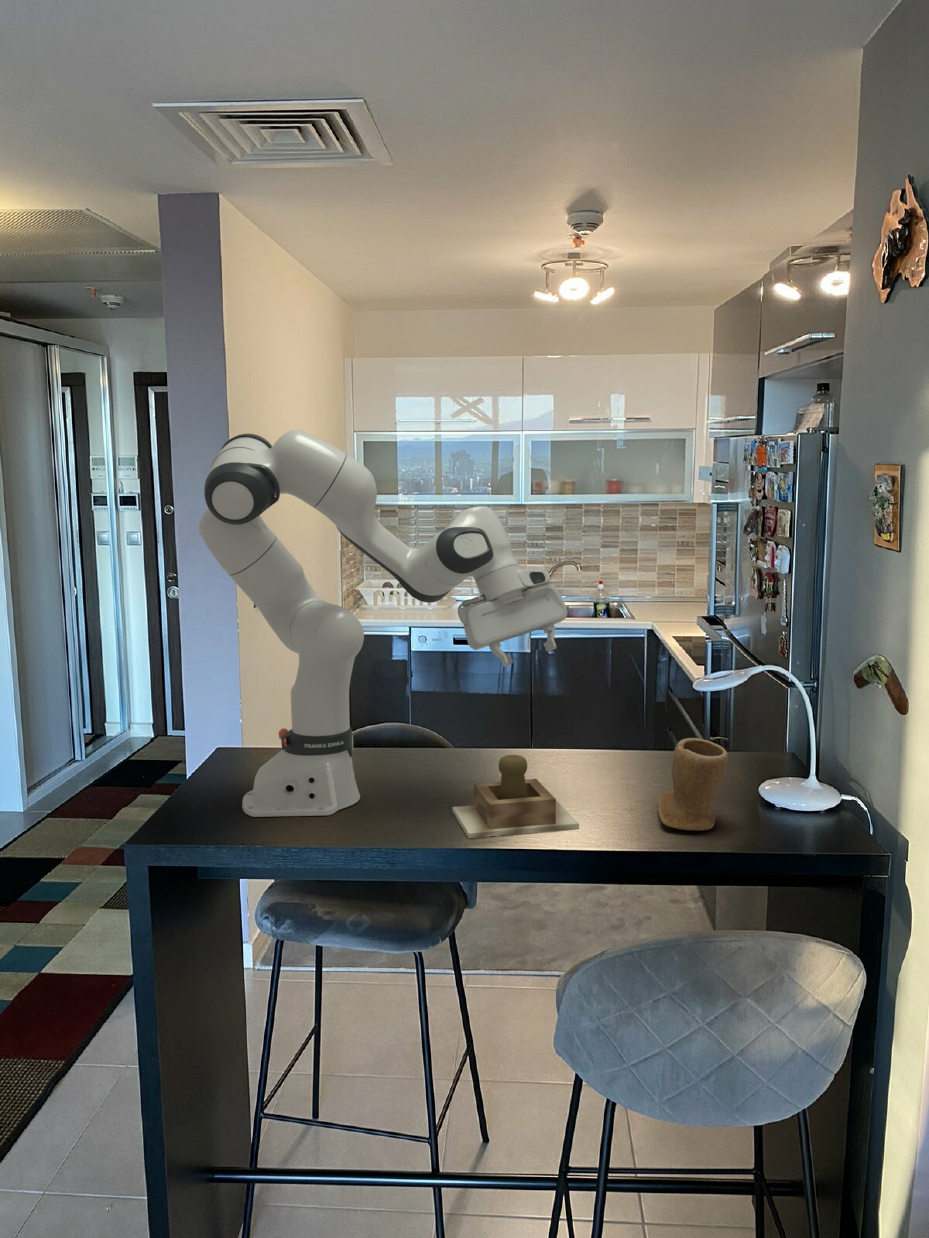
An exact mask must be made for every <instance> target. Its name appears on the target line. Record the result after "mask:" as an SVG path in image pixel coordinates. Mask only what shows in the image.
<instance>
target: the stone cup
mask: <svg viewBox="0 0 929 1238" xmlns="http://www.w3.org/2000/svg"><path fill="white" fill-rule="evenodd" d="M673 751H674V752H673V755H672V765H671V776H672V777H671V778H672V783H673V784H672V785H673V789H670V790H666V791H662V792H661V793H659V794H658V795H657V796H658V798H657V806H658V807H657V809H658V811H657V812H658V815H659V819H660V821H661V823H662V824H663V825H665V826H666V827H669V828H672V829H676V830H683V831H708V830H711V829H712V828H713V827H715V824H716V814H715V811H714V809H713V803H714V799H715V797H716V795H717V792H718V790H719V789H720V786H721V785H722V783H723V781H724V778H725V776H726V774H727V768H728V762H729V754H728V751H727V750H726V749H725V748H724V747H723V746H721V745H720V744H718V743H714V742H713V741H710V740H706V739H702V738H697V737H688V738H684V739H683V738H682V739H681V740H679V741H678V742H677V744H676V745H675V747H674V750H673Z"/></svg>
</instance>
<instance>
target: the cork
mask: <svg viewBox="0 0 929 1238" xmlns="http://www.w3.org/2000/svg"><path fill="white" fill-rule="evenodd" d="M527 770H528V761H527V759H526V758H525V757H523V756H522V755H519V754H508V755H504V756H502V757H500V759H499V762H498V772H500V774H501V778H500V782H501V784H500V792H499V800H504V799H516V798H527V791H526V784H525V780H526V778H525V776H526V773H527Z"/></svg>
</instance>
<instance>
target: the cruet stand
mask: <svg viewBox="0 0 929 1238" xmlns="http://www.w3.org/2000/svg"><path fill="white" fill-rule="evenodd" d="M500 784H501V781H493V782H482V783H481V782H480V783H474V784H473V787H474V788H473V789H474V791H473V792H474V797H473V798H474V800H473V801H474V804H473V805H464V806H463V805H462V806H461V805H460V806H452V809H451V810H452V814H453V815H455V816H454V817H455V819H456V820H457V822H458V823H459V825H460V827H461V828H463V829H462V830H463V831H464V834H465V835H466V836H468V837H467V838H468V839H469V838H475V839H483V838H482V837H486V838H491V837H490V836H496V837H502V836H501V835H507V836H515V834H518V835H525V834H526V833H529V834H536V833H535V832H540V833H550V831H551V832H559V831H560V830H562V831H570V830H569V829H572V830H579V829H580V822H578V820H576V819H575V818H574V816H572V814H570V812H569V811H567V809H566V808H565V807H564V806H563V805H562V804H561V803H560V802H559V801H558V800H557V799H556V798H555V796H553V794H552V793H551V792H549V791H548V790H547V788H546V787H545V785H543V784H542V783H541V782H540V781H539V780H538V779H537V778H529V779H525V784H526V791H527V798H516V799H504V800H499V792H500ZM558 830H559V831H558ZM560 832H561V831H560ZM526 835H527V834H526Z"/></svg>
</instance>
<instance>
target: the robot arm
mask: <svg viewBox="0 0 929 1238" xmlns="http://www.w3.org/2000/svg"><path fill="white" fill-rule="evenodd" d="M203 491H204V493H203V495H204V500H205V503H206V504H205V505H206V506H207V508H208V509H206V511H205V512H204V513H203V515H201V518H200V521H199V524H198V531H199V535H200V536H201V539H202V540H203V542H204V544H205V545H206V547H207V548H208V550H209V552H210V553H211V554H212V556H213V557H214V558H215V560H216V561H217V563H218V564H219V566H220V567H221V568H222V569H223V570H224V571H225V572H226V574H227V575H228V576H229V577H230V578H231V579H232V580H233V581H234V583H235V584H236V585H237V586H238V587H239V588H240V589H241V590H242V592H243V593H244V594H245V595H246V596H247V597H248V598H249V599H250V601H252V603H253V604H254V605H255V606H256V608H257V609H258V610H259V611H260V613H261V616H263V618H264V620H265V621H266V623H268V625H269V627H270V628H271V629H272V631H273V632H274V633H275V634H276V636H277V638H278V639H279V640H280V642H282V644H283V645H284V646H285V647H286V648H287V649H288V650H289V651H292V652H294V653H296V654H298V659H299V660H298V667H297V673H296V677H295V682H294V685H293V686H292V687H291V689H290V712H291V728H290V730H289V729H287V728H284V727H283V728H280V730H279V731H278V737H279V739H280V740H281V750H280V751H278V752H277V754H276V755H274V756H273V757H272V758H270V759H269V760H268V761H267V762H266V763H264V764H263V765H261V766H260V767H259V768H258V771H257V772H256V775H255V777H254V781H253V789H252V790H249V791H248V792H246V793H245V794H244V795H243V798H242V805H241V808H242V811H243V812H244V814H246V815H248V816H250V817H252V818H254V817H255V818H257V817H258V818H259V817H260V818H263V817H264V818H265V817H302V816H303V817H308V816H309V817H311V816H312V817H313V816H314V817H315V816H317V817H318V816H331V815H333V814H335V813H336V812H338V811H339V810H342V809H345V808H348V807H350V806H353V805H355V804H356V803H358V802H359V800H360V799H361V795H360V792H359V788H358V786H357V782H356V781H357V780H356V776H355V772H354V765H353V752H354V735H353V729H352V726H351V725H350V685H351V677H352V673H353V670H354V669H353V668H354V664H355V659H356V657H357V655H358V654H359V652H360V651H361V650H362V647H363V644H364V639H365V632H364V631H365V630H364V628H363V625H362V623H361V622H360V620H359V619H358V618H357V617H356V616H355V615H354V614H353V613H352V612H351V611H349V609H347V608H345V607H343V606H341V605H338V604H333V603H330V602H327V601H325V600H324V599H322V598H321V597H320V596H319V595H318V594H317V593H316V591H315V590H314V589H313V587H312V584H310V582H309V580H308V579H307V577H306V575H305V572H304V569H303V566H302V565H301V564H300V562H299V561H298V560H297V559H296V558H295V557H294V556H293V555H292V553H291V552H290V551H289V550H288V548H287V547H286V546H285V545H284V544H283V543H282V541H281V540H280V539H279V538H278V537H277V535H276V534H275V533H274V532H273V531H272V529H271V528H270V527H269V526H268V525H267V523H265V521H264V520H263V518H262V517H261V516H262V514H263V513H265V511H266V510H268V509H269V508H270V507H272V506H273V505H274V504H276V503H277V502H278V501H279V500H280V497H281V496H280V495H283V494H288V495H291V496H293V497H296V498H297V499H300V500H301V501H302V502H304V503H306V504H307V505H309V506H310V507H311V508H314V509H315V510H317V511H318V512H320V513H321V514H322V515H323V516H325V517H326V518H327V519H328V520H330V521H331V522H332V523H333V524H334V525H335V527H336V529H337V530H338V532H339V533H340V534H341V536H342V537H344V538H345V540H347V541H348V542H349V543H350V544H351V545H353V546H354V547H355V548H357V549H358V550H359V551H361V552H362V553H363V554H364V555H366V557H369V558H370V559H371V560H372V561H373V562H375V563H376V564H378V565H379V566H380V567H382V569H384V570H385V571H386V572H388V573H389V574H390V575H391V576H393V578H395V580H397V582H398V583H399V584H400V585H401V587H403V590H405V591H406V593H407V594H409V595H410V596H411V597H412V598H414V599H415V600H418V601H420V602H423V603H427V604H428V603H437V602H439V601H440V600H442V599H443V598H445V596H447V595H448V593H450V592H451V591H452V590H453V589H454V588H456V587H457V586H458V585H460V584H462V582H464V580H466V579H468V578H469V577H473V579H474V582H475V584H476V588H477V589H478V590H477V591H478V592H479V595H478V596H476V597H473V598H471V599H466V600H462V601H461V604H460V605H459V606H458V607H457V615H458V618H459V621H460V622H461V623H462V624H463V625H462V626H463V629H464V633H465V637H466V641H467V644H468V646H469V647H470V648H471V649H472V650H474V651H478V650H480V649H484V648H486V647H488V648H489V650H490V653H492V654H493V655H494V656H495V657H497V658H498V659H499V660H500V662H501V665H502V667H504V668H505V667H508V666H510V665H513V664H514V660H513V658H512V655H511V653H508V654H507V653H505V652H504V651H503V650H502V649H501V647H502V645H501V642H504V641H509V640H511V639H514V638H517V637H520V636H523V635H525V634H526V635H527V634H528V633H533V632H534V631H538V630H541V629H543V632H544V634H547V635H546V642H544V643H543V646H544V648H545V650H546V652H551V651H554V650H556V649H557V644H556V642H555V635H556V627H555V625H556V624H559V623H561V622H562V621H564V620H566V619H567V617H568V608H567V606H566V603H565V601H564V599H563V597H562V595H561V593H560V591H559V589H558V588H557V587H556V586H555V585H554V584H552V583H549V582H550V581H551V576H550V574H549V572H548V571H546V570H530V569H528V570H527V569H521V568H522V567H521V566H520V564H519V562H518V561H517V559H516V558H515V556H514V555H513V550H512V544H511V541H510V538H509V536H508V533H507V531H506V529H505V527H504V525H503V523H502V521H501V519H500V518H499V516H498V515H497V514H496V512H495V511H494V510H493V509H492V508H491V507H489V506H484V505H483V506H482V505H476V506H472V507H468V508H465V509H463V510H461V511H459V512H458V513H457V514H456V515H455V517H454V519H453V521H452V522H451V523H450V524H449V525H447V526H446V528H444V529H443V530H441V531H440V532H438V533H437V534H436V535H435V536H434V537H432V538H431V539H430V540H428V542H427V543H426V544H424V545H423V546H421V547H420V548H415V547H414V548H413V547H411V546H408V545H407V544H406V543H404V542H403V541H402V540H400V539H399V538H398V537H397V536H395V534H393V533H392V532H390V531H389V530H388V529H387V528H386V527H384V526H383V525H382V524H381V523H380V522H379V520H378V519H377V517H376V513H375V510H376V509H375V508H376V504H377V500H378V499H377V498H378V489H377V483H376V480H375V477H374V474H373V473H372V472H371V471H370V470H369V469H368V468H367V467H366V466H365V465H363V463H362V462H360V461H359V460H357V459H356V458H354V457H352V456H351V455H349V454H348V453H346V452H345V451H343V450H341V449H340V448H338V447H336V446H334V445H333V444H331V443H329V442H327V441H325V440H323V439H321V438H320V437H317V436H314V435H313V434H310V433H307V432H304V431H302V430H298V429H295V430H289V431H287V432H286V433H284V434H283V435H281V436H280V437H279V438H278V439H277V440H276V441H275V442H274V444H273V445H272V444H271V443H270V442H269V441H268V440H267V439H266V438H264V437H262V436H260V435H257V434H255V433H241V434H238V435H235V436H233V437H232V438H229V439H228V440H227V441H226V442H225V443H224V445H222V447H221V449H220V450H219V451H218V453H217V455H216V456H215V458H214V459H213V461H212V463H211V466H210V470H209V473H208V475H207V476H206V479H205V483H204V488H203Z"/></svg>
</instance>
